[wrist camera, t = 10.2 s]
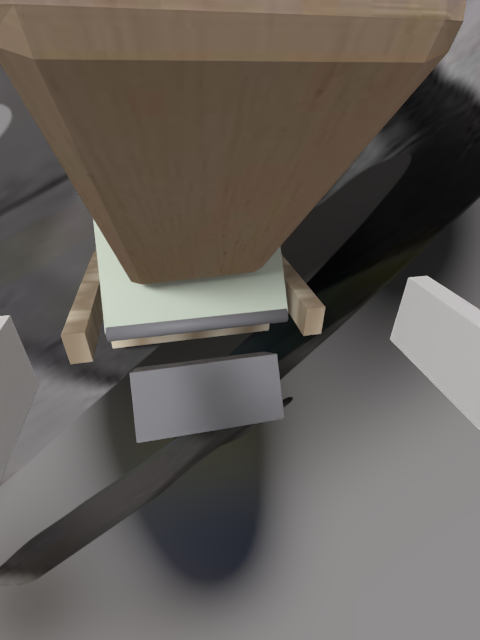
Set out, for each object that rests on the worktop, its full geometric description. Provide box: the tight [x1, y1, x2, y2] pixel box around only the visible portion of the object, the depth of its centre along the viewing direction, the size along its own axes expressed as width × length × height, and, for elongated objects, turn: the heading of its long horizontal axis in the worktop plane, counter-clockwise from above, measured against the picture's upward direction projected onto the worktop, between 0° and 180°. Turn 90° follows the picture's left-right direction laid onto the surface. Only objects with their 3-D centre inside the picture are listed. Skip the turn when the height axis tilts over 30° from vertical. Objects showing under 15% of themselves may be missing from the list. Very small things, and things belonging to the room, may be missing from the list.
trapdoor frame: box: [61, 251, 325, 364], centre depth 34 cm, size 19×11×16 cm, turn 89°
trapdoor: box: [93, 219, 288, 443], centre depth 28 cm, size 14×21×4 cm
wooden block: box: [0, 0, 466, 285], centre depth 16 cm, size 10×10×20 cm
